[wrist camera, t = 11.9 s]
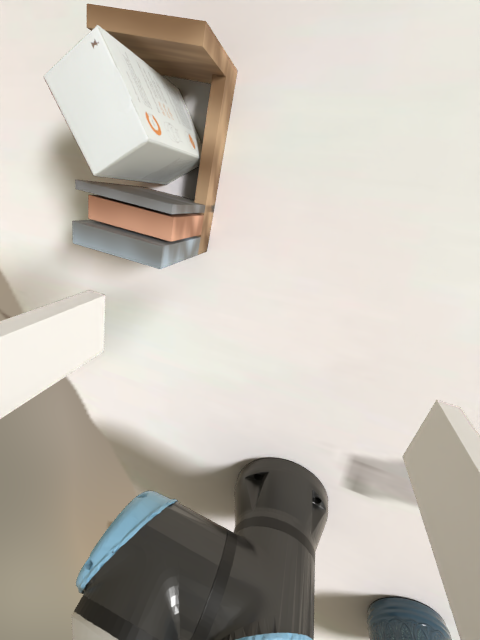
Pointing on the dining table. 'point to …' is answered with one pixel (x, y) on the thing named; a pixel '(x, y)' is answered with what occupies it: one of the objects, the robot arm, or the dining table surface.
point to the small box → (123, 112)
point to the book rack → (196, 215)
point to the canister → (405, 621)
